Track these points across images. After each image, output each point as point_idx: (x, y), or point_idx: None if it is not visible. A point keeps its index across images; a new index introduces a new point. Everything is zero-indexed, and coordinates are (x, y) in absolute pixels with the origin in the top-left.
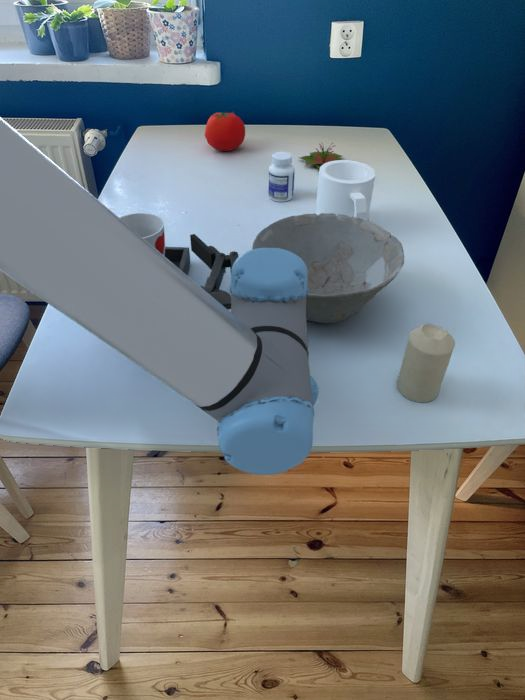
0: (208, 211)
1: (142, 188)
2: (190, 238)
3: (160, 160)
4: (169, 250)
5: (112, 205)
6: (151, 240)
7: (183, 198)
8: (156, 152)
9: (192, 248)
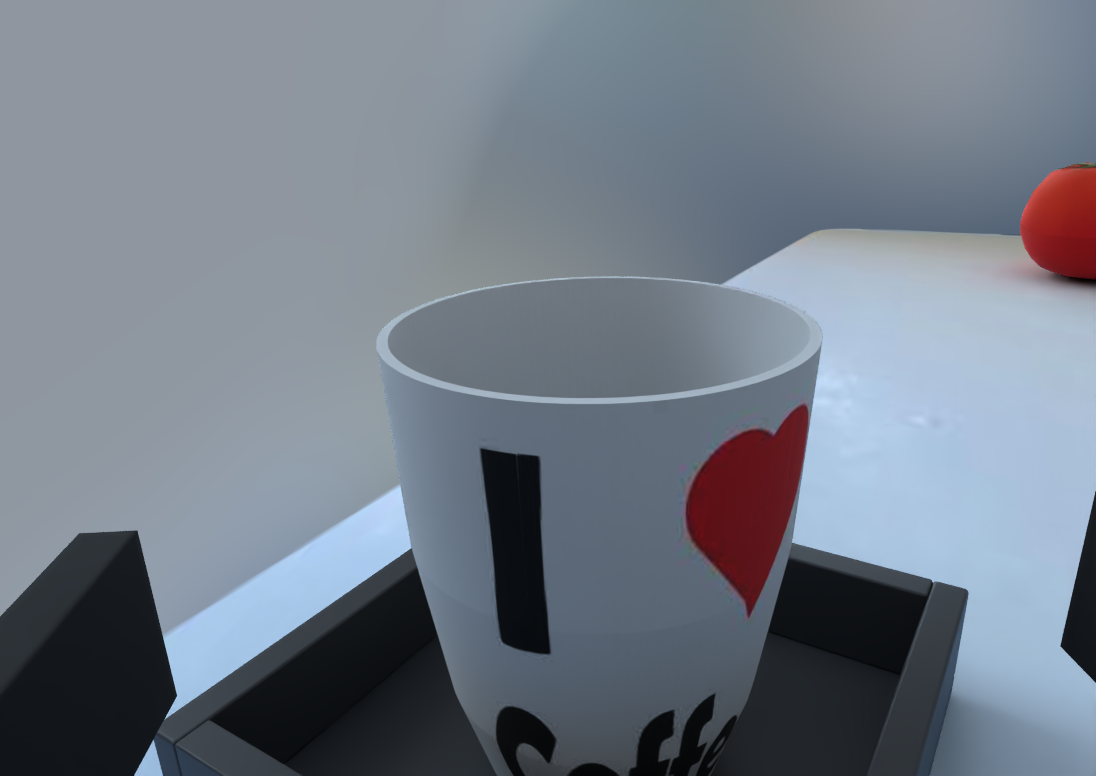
0: (1047, 434)
1: None
2: (1091, 519)
3: (852, 281)
4: (821, 575)
5: None
6: (655, 448)
7: (924, 375)
8: (844, 267)
9: (1089, 632)
